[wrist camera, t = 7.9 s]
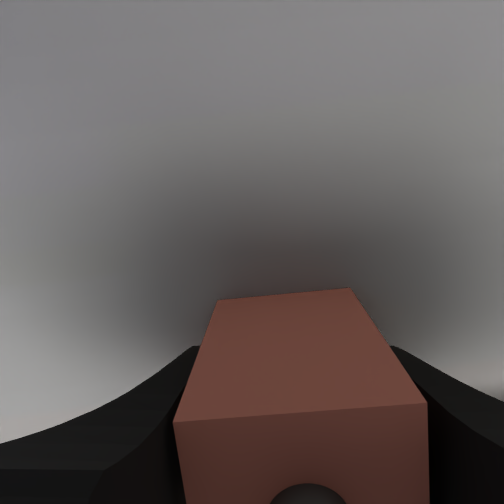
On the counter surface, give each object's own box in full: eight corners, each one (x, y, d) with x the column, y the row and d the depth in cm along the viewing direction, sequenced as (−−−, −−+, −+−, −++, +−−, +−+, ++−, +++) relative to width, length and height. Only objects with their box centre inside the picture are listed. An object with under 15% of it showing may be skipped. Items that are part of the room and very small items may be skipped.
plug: (217, 299, 12) (159, 458, 6) (350, 287, 12) (450, 436, 5) (233, 416, 13) (198, 672, 7) (357, 407, 13) (453, 663, 6)
